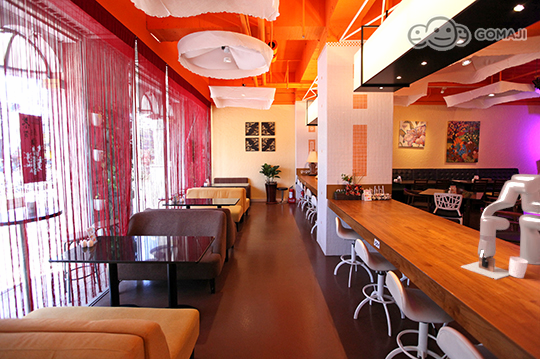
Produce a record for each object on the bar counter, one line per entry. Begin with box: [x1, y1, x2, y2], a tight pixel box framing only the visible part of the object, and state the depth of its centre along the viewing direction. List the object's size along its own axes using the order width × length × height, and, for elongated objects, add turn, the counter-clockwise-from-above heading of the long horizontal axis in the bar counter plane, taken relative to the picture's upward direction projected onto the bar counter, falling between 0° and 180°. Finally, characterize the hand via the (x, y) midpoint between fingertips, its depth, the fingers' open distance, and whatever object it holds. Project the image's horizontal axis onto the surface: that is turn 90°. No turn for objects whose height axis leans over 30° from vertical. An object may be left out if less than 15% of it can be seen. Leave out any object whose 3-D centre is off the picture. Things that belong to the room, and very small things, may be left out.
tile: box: [478, 255, 496, 272], centre depth 166 cm, size 2×8×8 cm, turn 22°
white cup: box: [508, 256, 529, 279], centre depth 157 cm, size 8×8×10 cm
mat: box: [460, 261, 511, 281], centre depth 167 cm, size 18×20×1 cm
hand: (486, 266), depth 167 cm, fingers open, 3 cm apart
